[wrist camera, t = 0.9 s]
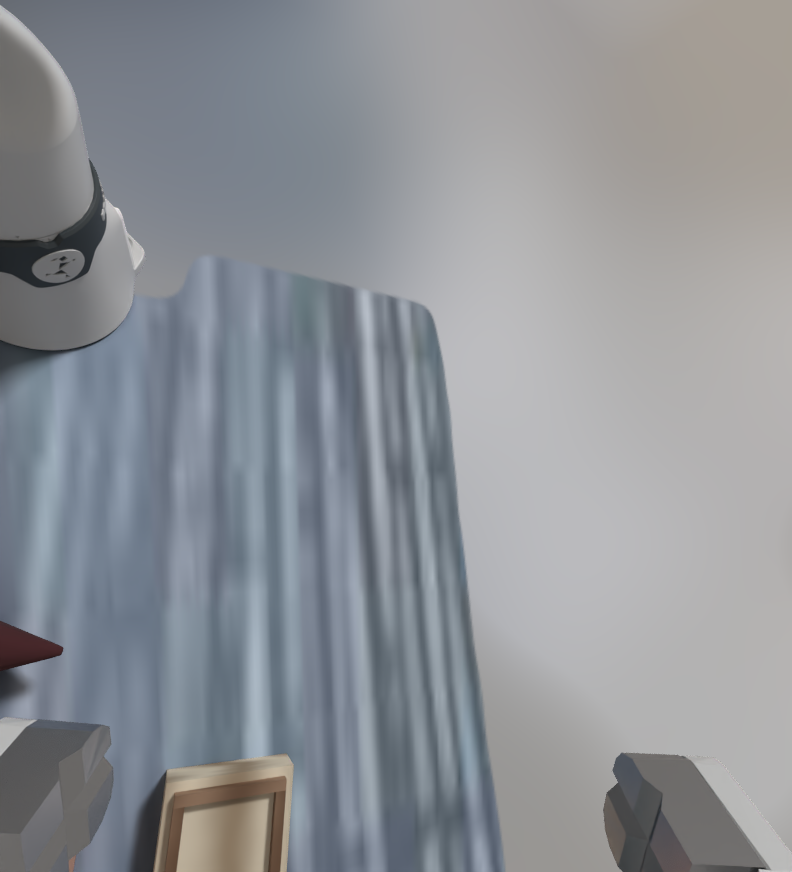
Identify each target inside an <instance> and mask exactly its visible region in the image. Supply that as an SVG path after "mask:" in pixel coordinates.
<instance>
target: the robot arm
mask: <svg viewBox="0 0 792 872" xmlns="http://www.w3.org/2000/svg"><path fill="white" fill-rule="evenodd" d="M145 261H146V256H145V253H144V250H143V248H142V247H141V246H140V245H139V244H138V243H137V242H136V241H135V240H134V239H133V238H132V237H131V236H130V235H129V234H128V233H127V232H126V228H125V224H124V220H123V216H122V214H121V212H120V210H119V209H118V208H115V207H113V206H112V205H111V203H110V202H109V201H108V200H107V199H106V198H105V196H104V192H103V189H102V185H101V183H100V181H99V178H98V175H97V172H96V170H95V168H94V166H93V164H92V162H91V161H90V160H89V158H88V154H87V148H86V143H85V139H84V134H83V129H82V124H81V119H80V114H79V109H78V104H77V100H76V96H75V94H74V91H73V88H72V86H71V84H70V82H69V80H68V78H67V77H66V75H65V73H64V71H63V70H62V68H61V67H60V65H59V64H58V63H57V61H56V60H55V59H54V57H52V55H51V54H50V52H49V51H48V50H47V49H46V48H45V47H44V45H43V44H42V43H41V42H40V41H39V40H38V39H37V38H36V37H35V36H34V34H33V33H32V32H31V31H30V30H29V29H28V28H27V27H26V26H25V25H24V24H23V23H22V22H21V21H20V20H18V19H17V18H16V17H15V16H14V15H12V14H11V13H10V12H9V11H7V10H6V9H4V8H3V7H2V6H0V340H2V341H5V342H7V343H10V344H13V345H17V346H21V347H25V348H31V349H38V350H64V349H71V348H77V347H81V346H84V345H87V344H90V343H93V342H95V341H98V340H99V339H101V338H103V337H105V336H107V335H108V334H109V333H111V332H112V331H113V330H115V329H116V328H117V327H118V326H119V325H120V324H121V323H122V321H123V320H124V319H125V317H126V316H127V314H128V312H129V310H130V308H131V305H132V301H133V295H134V282H135V278H136V276H137V275H138V273H139V272H140V271H141V269H142V267H143V266H144V264H145ZM110 745H111V736H110V728H109V727H108V726H105V725H99V724H87V723H75V722H63V721H52V720H40V719H38V720H34V719H21V718H8V717H4V718H3V719H1V720H0V872H69V860H70V859H72V858H73V857H74V856H75V855H76V854H78V853H79V852H80V851H81V850H83V849H84V848H85V847H86V846H88V845H89V844H90V843H91V841H92V839H93V837H94V835H95V833H96V832H97V830H98V828H99V826H100V824H101V822H102V820H103V817H104V815H105V812H106V809H107V806H108V804H109V801H110V798H111V793H112V787H113V780H114V779H113V767H112V766H111V764H110V763H109V762H108V761H107V760H106V759H105V758H104V757H103V756H104V755H105V753H106V752H107V750H108V749H109V747H110ZM613 773H614V775H615V777H616V779H617V781H618V783H617V784H616V785H615V786H614V787H613V788H612V789H611V790H609V791H608V792H607V794H606V799H605V804H604V809H603V811H604V822H605V831H606V835H607V838H608V842H609V846H610V849H611V851H612V853H613V856H614V858H615V861H616V863H617V866H618V867H619V868H620V869H621V870H622V871H623V872H792V853H791V852H790V850H789V849H788V848H787V846H786V845H785V844H784V843H783V841H782V840H781V839H780V837H779V836H778V835H777V833H776V832H775V831H774V830H773V828H772V827H771V826H770V824H769V823H768V822H767V820H766V819H765V818H764V817H763V816H762V814H761V813H760V811H759V810H758V809H757V808H756V806H755V805H754V804H753V802H752V801H751V800H750V798H749V797H748V796H747V795H746V793H745V792H744V791H743V789H742V788H741V787H740V785H739V784H738V783H737V782H736V780H735V779H734V778H733V776H732V775H731V774H730V772H729V771H728V770H727V769H726V767H725V766H724V765H723V764H722V763H721V762H719V761H718V760H716V759H715V758H714V757H700V756H679V755H665V754H663V755H662V754H639V753H621V754H620V755H619V756H618V757H617V758H616V761H615V764H614V768H613Z"/></svg>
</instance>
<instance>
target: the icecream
mask: <svg viewBox="0 0 792 872" xmlns="http://www.w3.org/2000/svg"><path fill="white" fill-rule="evenodd" d="M62 652H63V647H61V646H59V645H57V644H55V643H52V642H50V641H48V640H45V639H43V638H40V637H38V636H35V635H33V634H30V633H28V632H26V631H23V630H21V629H18V628H16V627H14V626H11V625H9V624H6V623H4V622H2V621H0V671H3V670H7V669H10V668H14V667H18V666H22V665H26V664H30V663H33V662H37V661H41V660H45V659H49V658H53V657H56V656H60V655H61V654H62Z"/></svg>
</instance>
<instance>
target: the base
mask: <svg viewBox="0 0 792 872" xmlns="http://www.w3.org/2000/svg"><path fill="white" fill-rule="evenodd" d="M293 767H294V765H293V763H292V762H291V760H290V758H289V757H288V755H287V754H279V755H272V756H264V757H257V758H250V759H242V760H235V761H227V762H220V763H212V764H205V765H198V766H190V767H183V768H175V769H168V770H167V774H166V781H165V788H164V795H163V802H162V810H161V817H160V824H159V831H158V838H157V846H156V853H155V860H154V867H153V872H286V870H287V855H288V841H289V826H290V811H291V796H292V782H293Z"/></svg>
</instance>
